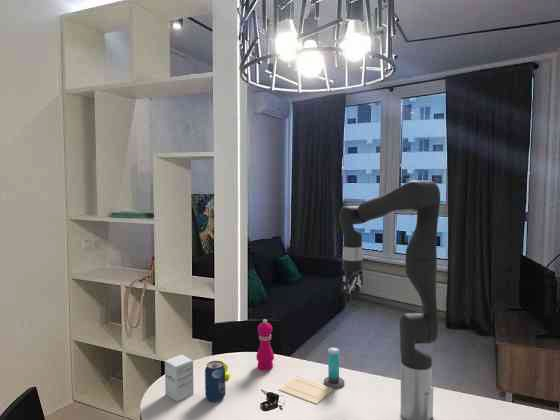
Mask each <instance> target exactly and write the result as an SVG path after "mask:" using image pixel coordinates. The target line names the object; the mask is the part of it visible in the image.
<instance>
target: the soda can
mask: <svg viewBox="0 0 560 420" xmlns="http://www.w3.org/2000/svg"><path fill="white" fill-rule="evenodd" d="M223 362H224V361H223ZM223 362H221V360H213V361H209V362H208V363H207V364H206V367H205V370H204V379H205V380H204V383H205V385H204V390H205V391H204V392H205V393H204V395H205V397H206V399H207V400H208V401H209V402H211V403H218V402H221V401H223V400H224V398H225V396H226V380H225V367H224V365H223Z"/></svg>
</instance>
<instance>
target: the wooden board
mask: <svg viewBox="0 0 560 420" xmlns="http://www.w3.org/2000/svg"><path fill="white" fill-rule="evenodd" d="M334 390H335V388H331V387H328V386H326V385H325V384H321V383H319V382H316V381H312V380H309V379H307V378H304V377H301V376H299V375H296V376H295V377H293V379H291V380H289V381H288V382H286V384H283V386H281V387H280V388H278V391H281V392H283V393H286V394H288V395H291V396H293V397H295V398H298V399H301V400H304V401H306V402H309V403H312V404H314V405H319V403H321V401H322V400H324V399H325V398H326V397H328V395H329V394H330V393H331V392H332V391H334Z"/></svg>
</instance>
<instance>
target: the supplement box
mask: <svg viewBox="0 0 560 420" xmlns="http://www.w3.org/2000/svg"><path fill="white" fill-rule="evenodd" d="M164 381H165V382H164V383H165V385H164V386H165V396H168V397H169V398H171V399H172V400H173V401H174V402H176V403H177V402H180V401H181V400H184V399H186V398H187V397H190V396H192V395H194V394H195V393H194V392H195V390H194V360H193V359H192V358H190V357H188V356H185V355H183V354H179V355H176V356H174V357H171V358H168V359H165V360H164Z"/></svg>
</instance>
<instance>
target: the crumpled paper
mask: <svg viewBox="0 0 560 420" xmlns="http://www.w3.org/2000/svg"><path fill="white" fill-rule="evenodd" d="M220 361H221V362H223V365H224V367H225V381H227V380H228V381H229V379H230V378H231V376H230V375H231V373H229V372H228V370H229V369H228V367H229V366H228V365H227V363H225V362H224V361H223V358H222V359H220Z"/></svg>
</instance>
